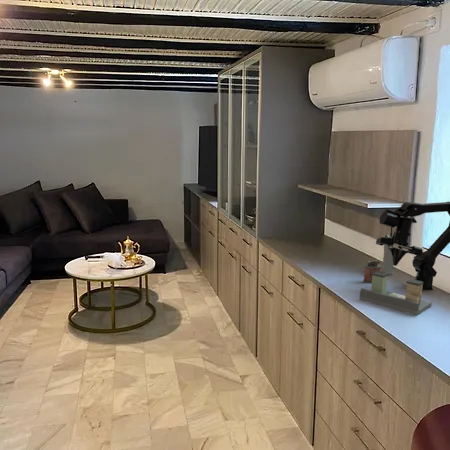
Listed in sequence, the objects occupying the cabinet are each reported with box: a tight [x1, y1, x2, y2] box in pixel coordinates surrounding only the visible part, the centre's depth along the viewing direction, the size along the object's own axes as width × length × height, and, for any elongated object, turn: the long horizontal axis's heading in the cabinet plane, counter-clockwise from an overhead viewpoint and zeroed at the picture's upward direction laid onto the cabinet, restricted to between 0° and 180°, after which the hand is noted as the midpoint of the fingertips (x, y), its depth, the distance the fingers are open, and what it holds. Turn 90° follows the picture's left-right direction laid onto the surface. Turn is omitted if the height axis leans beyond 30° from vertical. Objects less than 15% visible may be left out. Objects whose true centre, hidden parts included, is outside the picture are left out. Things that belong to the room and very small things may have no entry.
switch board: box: [358, 288, 433, 316], centre depth 185 cm, size 15×23×4 cm, turn 47°
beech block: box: [404, 278, 423, 303], centre depth 179 cm, size 4×5×9 cm
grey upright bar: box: [380, 227, 394, 276], centre depth 226 cm, size 4×5×25 cm
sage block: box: [370, 271, 389, 294], centre depth 188 cm, size 4×5×9 cm
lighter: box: [362, 259, 382, 284], centre depth 212 cm, size 8×3×10 cm, turn 105°
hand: (394, 265), depth 199 cm, fingers closed
